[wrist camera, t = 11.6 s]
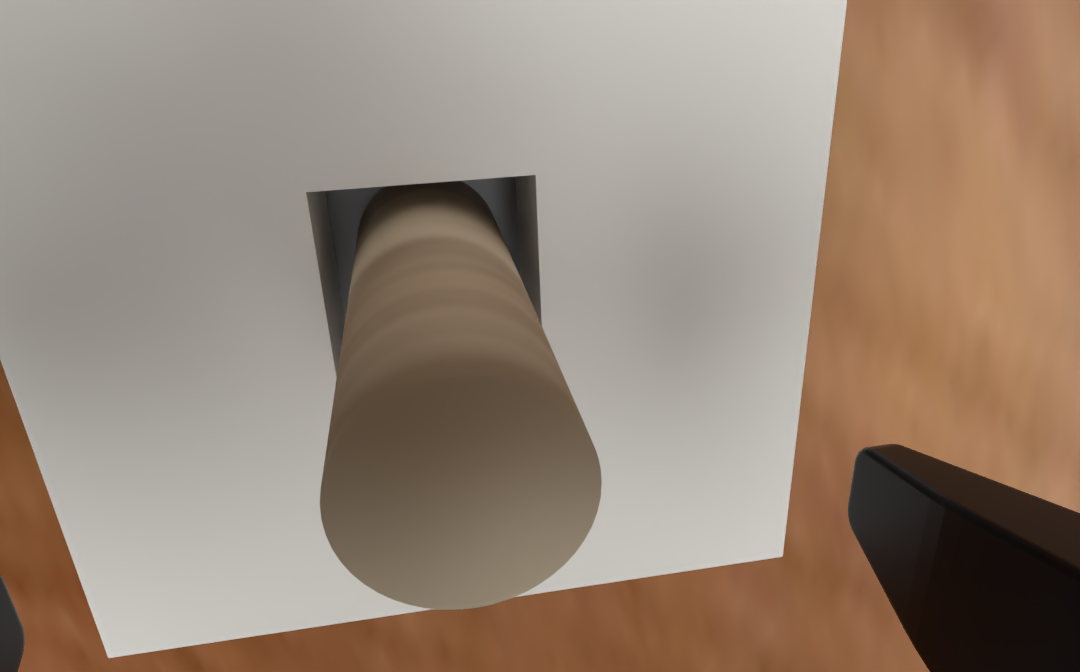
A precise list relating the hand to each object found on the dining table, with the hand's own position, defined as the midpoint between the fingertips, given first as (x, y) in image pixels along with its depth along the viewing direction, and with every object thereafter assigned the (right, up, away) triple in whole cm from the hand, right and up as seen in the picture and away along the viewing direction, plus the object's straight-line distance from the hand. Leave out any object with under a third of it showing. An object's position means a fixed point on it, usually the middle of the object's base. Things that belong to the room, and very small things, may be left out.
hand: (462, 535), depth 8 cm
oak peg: (-2, +4, +10) cm, 11 cm away
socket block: (-2, +5, +11) cm, 12 cm away
